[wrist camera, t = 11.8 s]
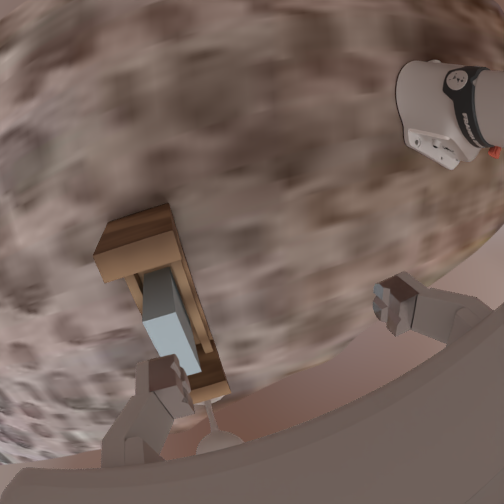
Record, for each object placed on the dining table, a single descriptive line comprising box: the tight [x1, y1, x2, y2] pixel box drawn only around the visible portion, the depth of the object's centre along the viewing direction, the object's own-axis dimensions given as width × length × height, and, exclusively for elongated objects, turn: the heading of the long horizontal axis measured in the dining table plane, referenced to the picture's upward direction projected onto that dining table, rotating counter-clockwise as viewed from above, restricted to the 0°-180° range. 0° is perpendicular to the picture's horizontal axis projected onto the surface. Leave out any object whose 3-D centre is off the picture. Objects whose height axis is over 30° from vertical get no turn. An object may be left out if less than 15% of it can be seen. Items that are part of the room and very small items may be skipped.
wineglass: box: [195, 395, 244, 455], centre depth 40 cm, size 9×9×21 cm
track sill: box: [93, 203, 231, 404], centre depth 35 cm, size 24×8×10 cm, turn 11°
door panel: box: [142, 266, 202, 376], centre depth 34 cm, size 9×4×10 cm, turn 11°
